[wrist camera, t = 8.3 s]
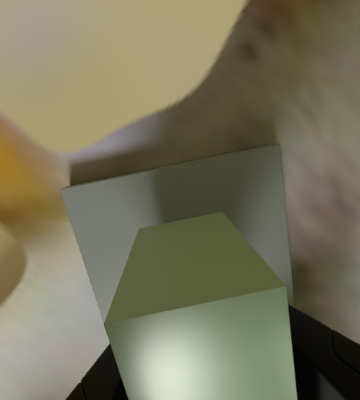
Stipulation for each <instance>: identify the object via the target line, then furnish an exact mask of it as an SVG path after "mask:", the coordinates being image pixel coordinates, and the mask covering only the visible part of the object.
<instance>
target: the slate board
mask: <svg viewBox="0 0 360 400" xmlns="http://www.w3.org/2000/svg"><path fill="white" fill-rule="evenodd" d="M60 191H61V194H62V197H63V200H64V203H65V206H66V209H67V212H68V215H69V218H70V221H71V224H72V227H73V230H74V233H75V236H76V240H77V243H78V246H79V249H80V252H81V255H82V258H83V261H84V264H85V267H86V270H87V273H88V276H89V279H90V282H91V285H92V288H93V291H94V294H95V297H96V300H97V303H98V306H99V309H100V313H101V316H102V319H103V322H105V319H106V317H107V314H108V311H109V308H110V306H111V303H112V300H113V298H114V295H115V292H116V289H117V287H118V284H119V281H120V278H121V276H122V273H123V270H124V267H125V265H126V262H127V259H128V256H129V254H130V251H131V248H132V246H133V243H134V240H135V237H136V235H137V232H138V229H140V228H145V227H149V226H154V225H159V224H164V223H169V222H174V221H179V220H184V219H189V218H193V217H198V216H203V215H208V214H213V213H218V212H223V213H224V214H225V215H226V217H227V218H228V219H229V220H230V221H231V222H232V224H233V225H234V226H235V227H236V228H237V229H238V231H239V232H240V233H241V234H242V235H243V236H244V238H245V239H246V240H247V241H248V242H249V243H250V245H251V246H252V247H253V248H254V249H255V251H256V252H257V253H258V254H259V255H260V256H261V258H262V259H263V260H264V261H265V262H266V263H267V265H268V266H269V267H270V268H271V269H272V270H273V272H274V273H275V274H276V275H277V276H278V277H279V279H280V280H281V281H282V282H283V283H284V285H285V286H286V291H287V301H288V304H289V305H291V306H293V307H294V308H295V305H294V294H293V283H292V272H291V262H290V251H289V240H288V229H287V218H286V207H285V196H284V185H283V174H282V163H281V152H280V144H279V145H266V146H262V147H257V148H252V149H247V150H242V151H237V152H232V153H227V154H222V155H217V156H213V157H208V158H203V159H198V160H193V161H188V162H183V163H178V164H173V165H169V166H164V167H159V168H154V169H149V170H144V171H139V172H134V173H129V174H124V175H120V176H115V177H110V178H105V179H100V180H95V181H90V182H85V183H80V184H75V185H71V186H68V187H65V188H62V189H60Z"/></svg>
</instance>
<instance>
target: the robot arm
mask: <svg viewBox="0 0 360 400" xmlns="http://www.w3.org/2000/svg"><path fill="white" fill-rule="evenodd" d="M288 311H289V321H290V331H291V341H292V351H293V362H294V372H295V382H296V392H297V400H360V344H358V343H356V342H354V341H352V340H351V339H349V338H347V337H345V336H343V335H342V334H340V333H338V332H336V331H335V330H331V328H329V327H328V326H326V325H324V324H322V323H321V322H319V321H317V320H315V319H314V318H312V317H310V316H308V315H307V314H305V313H303V312H301V311H300V310H298V309H296V308H294V307H293V306H291V305H289V304H288ZM66 400H129V399H128V396H127V393H126V390H125V387H124V384H123V381H122V378H121V375H120V372H119V369H118V366H117V363H116V360H115V357H114V354H113V351H112V348H111V344H109V345H108V347H107V348H106V349H105V350H104V352H103V353H102V354H101V355H100V357H99V358H98V359H97V361H96V362H95V363H94V364H93V366H92V367H91V368H90V369H89V371H88V372H87V373H86V375H85V376H84V377H83V378H82V380H81V383H78V385H77V386H76V387H75V388H74V390H73V391H72V392H71V394H70V395H69V396H68V397H67V398H66Z"/></svg>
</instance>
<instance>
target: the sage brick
mask: <svg viewBox="0 0 360 400" xmlns="http://www.w3.org/2000/svg"><path fill="white" fill-rule="evenodd" d="M104 326H105V329H106V332H107V335H108V338H109V341H110V344H111V348H112V351H113V354H114V357H115V360H116V363H117V366H118V369H119V372H120V375H121V378H122V381H123V384H124V387H125V390H126V393H127V396H128V399H129V400H297V392H296V382H295V372H294V362H293V351H292V341H291V331H290V321H289V311H288V301H287V291H286V286H285V285H284V283H283V282H282V281H281V280H280V279H279V277H278V276H277V275H276V274H275V273H274V272H273V270H272V269H271V268H270V267H269V266H268V265H267V263H266V262H265V261H264V260H263V259H262V258H261V256H260V255H259V254H258V253H257V252H256V251H255V249H254V248H253V247H252V246H251V245H250V243H249V242H248V241H247V240H246V239H245V238H244V236H243V235H242V234H241V233H240V232H239V231H238V229H237V228H236V227H235V226H234V225H233V224H232V222H231V221H230V220H229V219H228V218H227V217H226V215H225V214H224V213H223V212H218V213H213V214H208V215H203V216H198V217H193V218H189V219H184V220H179V221H174V222H169V223H164V224H159V225H154V226H149V227H145V228H140V229H138V232H137V235H136V237H135V240H134V243H133V246H132V248H131V251H130V254H129V256H128V259H127V262H126V265H125V267H124V270H123V273H122V276H121V278H120V281H119V284H118V287H117V289H116V292H115V295H114V298H113V300H112V303H111V306H110V308H109V311H108V314H107V317H106V319H105V322H104Z"/></svg>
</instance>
